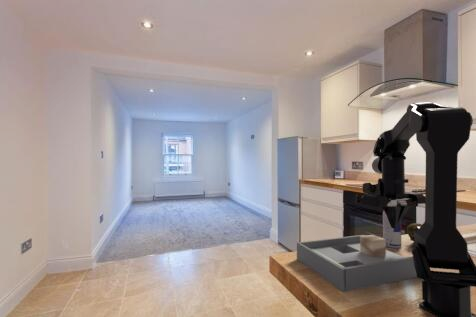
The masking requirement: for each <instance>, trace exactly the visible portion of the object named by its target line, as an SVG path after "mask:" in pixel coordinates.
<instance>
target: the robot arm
mask: <svg viewBox="0 0 476 317" xmlns="http://www.w3.org/2000/svg"><path fill="white" fill-rule="evenodd" d="M406 108H407V109H406V112H405V113H404V114H403V115H402V116H401V117H400V119H399V120H398V121H397V123H396V124H395V125H394V127H392V128H391V129H389V130H385V131H383V132H382V133H380V134H379V136H378V137H377V138H376V141H375V143H374V147H373V150H372V153H373V157H376V158H375V159H374V160H373V161H372V163H371V167H372V170H373V171H374V172H375V173H377V174H379V175H381V177H380V178H378V179H377V183H376V184H375V183H373V184H372V183H371V182H364V183H362V187H361V188H362V192H363V193H364V194H363V195H362V196H361V205H367V206H372V207H376V208H377V207H379V208H381V209H383V211H385V213H386V216H387V218H388V221H389V223H390V226H391V228H393V229H396V228H397V227H398V225H399V223H400V222H401V223H402V220H403V218H404V216H405V215H406V214H407V212H408V211H409V209H410V208H411V207H412V205H410V204H408V203H407V202H414V203H417V204H419V205H422V204H423V205H424V206H425V207H424V211H425V212H424V222H423V224H422V226H421V227H415V229H414V241H413V243H412V247H411V254H412V256H413V260H414V266H415V270H416V273H417V277H416V278H418V279H420V280H422V281H421V295H422V297H421V298H422V301H419V302H418V307H421V308H423V310H426V311H428V312H430V313H432V314H433V315H435V316H437V317H476V314H475V313H474V312H472V308H471V307H472V304H471V303H472V301H471V299H472V298H471V294H472V293H471V287H475V288H476V264H475V263H474V261H473V258H472V257H471V254H470V253H469V250H468V241H466V239H465V238H464V237H463V235H462V233H461V232H460V231H459V230H458V228H457V210H458V209H457V206H458V205H457V203H458V202H457V201H458V200H457V199H458V198H457V197H458V154H459V152H460V151H461V149H463V147H464V146H465V145H466V143H468V140H470V136H471V129H472V126H473V115H472V114H471V112H469V111H467V109H466V108H465V107H461V106H460V107H454V106H447V105H442V104H441V105H440V103H439V104H438V103H436V102H431V101H430V102H429V101H427V102H413V103H412V104H411V103H410V104H408V105H407V107H406ZM414 136H415V138H416V141H417V143H418V144H419V146H420V147H421V148H422V150H423V151H424V152H425V189H424V190H425V192H424V193H418V192H411V191H410V192H409V191H406V187H405V186H406V184H407V183H409V179H408V178H405V177H406V176H405V174H406V173H405V161H406V159H407V157H406V156H405V154H406V152H407V150H408V149H409V148H410V146H411V143H410V140H411V138H413V137H414ZM431 269H439V270H431ZM440 269H441V271H440ZM442 270H451V272H450V271H442ZM453 270H454V271H458V272H452V271H453Z"/></svg>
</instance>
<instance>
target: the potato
mask: <svg viewBox="0 0 476 317" xmlns="http://www.w3.org/2000/svg"><path fill="white" fill-rule="evenodd" d="M422 225H423V224H421V223H416V222H414V223H411V224H409V225H407V227H406V232H407V235H408V237H409V239H410V241H412V242H414V229H415V227H421V226H422Z"/></svg>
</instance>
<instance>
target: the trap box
mask: <svg viewBox="0 0 476 317" xmlns="http://www.w3.org/2000/svg"><path fill="white" fill-rule="evenodd" d="M360 236H366V234H358V235H350V236H342V237H340V236H339V237H335V238H334V237H333V238H326V239H325V238H324V239H315V240H307V241H299V242H296V260H298V262H300V263H301V264H303V265H305V267H307V268H309V269H310V270H311V271H313V272H314V273H315V274H317V275H318V276H319V277H321V278H323V279H324V280H325V281H327V282H328V283H329V284H331V285H332V286H334V287H335V288H337V289H338V290H339V291H340V292H342V293H346V292H350V291H355V290H361V289H365V288H371V287H376V286H381V285H387V284H390V283H395V282H401V281H406V280H409V279H416V278H418V277H417V273H416V270H415V266H414V260H413V255H412V256H406V257H405V256H403V255H399V253H395V252H392V251H390V250H387V249H386V255H385V256H379V257H371V256H369V255H367V254H365V253H362V252H360Z"/></svg>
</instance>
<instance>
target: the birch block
mask: <svg viewBox="0 0 476 317" xmlns="http://www.w3.org/2000/svg"><path fill="white" fill-rule="evenodd" d="M365 235H366V234H365ZM386 247H387V246H386V239H383V237H380V236H377V235H374V234H369V235H368V234H367V235H366V236H360V252H362V253H365V254H367V255H369V256H371V257H379V256H385V255H386V250H387V248H386Z"/></svg>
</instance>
